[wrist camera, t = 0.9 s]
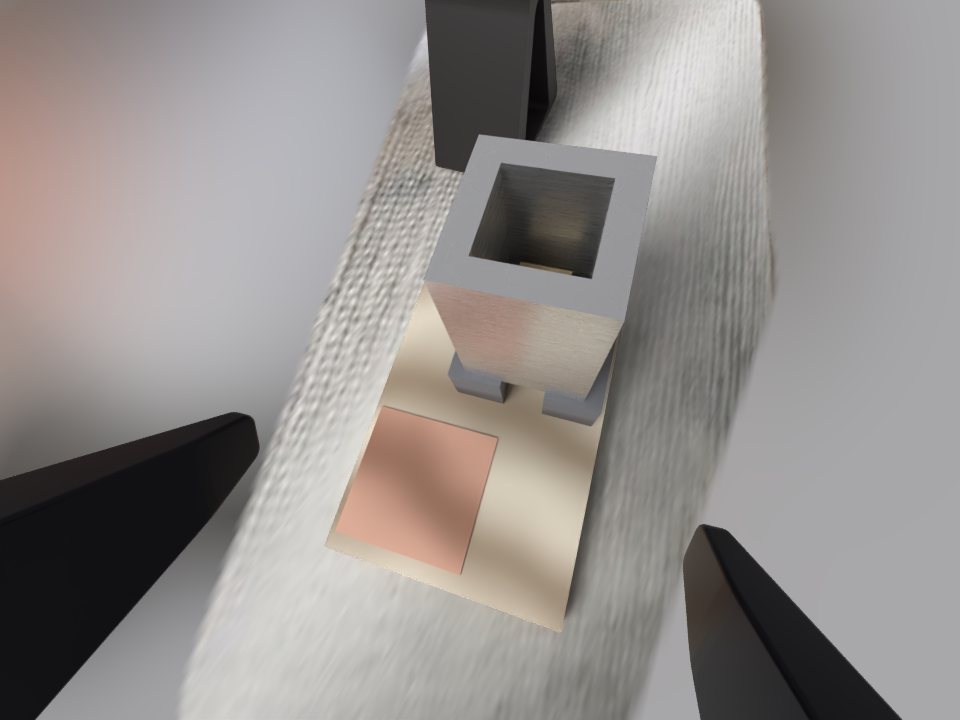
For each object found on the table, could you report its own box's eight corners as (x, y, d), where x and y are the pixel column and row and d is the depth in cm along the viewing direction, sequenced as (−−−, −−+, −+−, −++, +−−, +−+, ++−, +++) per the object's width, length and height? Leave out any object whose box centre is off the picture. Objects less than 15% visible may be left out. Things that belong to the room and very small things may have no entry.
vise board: (558, 623, 19) (580, 707, 11) (337, 543, 21) (221, 564, 13) (620, 317, 23) (666, 219, 16) (435, 280, 26) (394, 178, 18)
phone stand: (483, 82, 32) (458, -152, 20) (557, 95, 30) (574, -148, 19) (436, 168, 29) (378, -46, 18) (514, 187, 28) (504, -32, 17)
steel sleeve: (583, 401, 18) (624, 320, 10) (465, 372, 19) (423, 279, 11) (607, 294, 19) (657, 155, 12) (497, 273, 20) (479, 134, 13)
